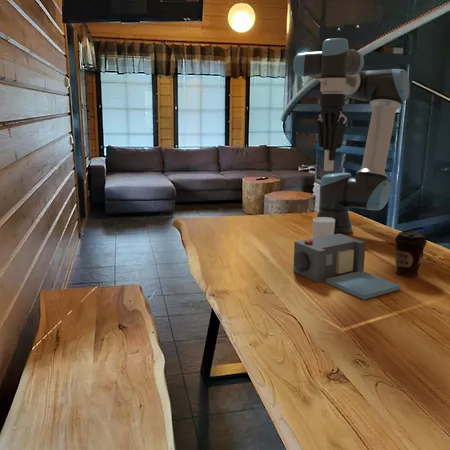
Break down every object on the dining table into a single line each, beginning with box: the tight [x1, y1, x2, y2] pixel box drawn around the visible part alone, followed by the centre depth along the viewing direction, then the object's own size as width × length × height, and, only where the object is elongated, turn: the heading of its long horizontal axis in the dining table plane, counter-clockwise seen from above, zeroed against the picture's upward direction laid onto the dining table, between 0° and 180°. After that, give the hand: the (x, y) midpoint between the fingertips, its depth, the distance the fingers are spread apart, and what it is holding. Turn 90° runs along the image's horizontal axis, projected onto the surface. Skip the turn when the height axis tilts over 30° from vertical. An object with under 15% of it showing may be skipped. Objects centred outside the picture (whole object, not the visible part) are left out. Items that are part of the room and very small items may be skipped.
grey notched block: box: [292, 234, 367, 284], centre depth 138 cm, size 19×11×11 cm, turn 120°
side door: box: [325, 270, 401, 300], centre depth 128 cm, size 14×2×14 cm
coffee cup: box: [394, 231, 428, 279], centre depth 136 cm, size 9×8×13 cm
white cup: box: [312, 216, 335, 238], centre depth 166 cm, size 8×8×10 cm
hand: (328, 170), depth 147 cm, fingers closed
